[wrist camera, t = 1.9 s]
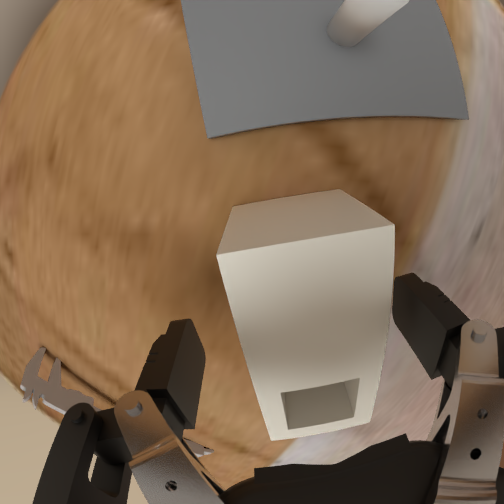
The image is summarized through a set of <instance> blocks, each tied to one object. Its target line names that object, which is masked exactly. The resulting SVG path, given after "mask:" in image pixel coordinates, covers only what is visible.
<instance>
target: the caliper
mask: <svg viewBox="0 0 504 504" xmlns="http://www.w3.org/2000/svg"><path fill="white" fill-rule="evenodd" d="M45 350H46V348H44V347H41V348H40V349H39V350H38V351H37V352H36V354H35V355H34V356H33V358H32V359H31V360H30V362H29V363H28V364H27V366H26V368H25V372H24V375H23V379H22V382H21V387H20V388H21V389H22V390H24V391H25V394H24V398H23V402H26V401H27V400H28V399H29V398H30V397H31V394H32V393H33V397H32V401H33V406H34V409H36V407H37V404H38V399H39V398H40V397H42V398H43V403H44V404H45V405H47V406H49V407H51V408H53V409H54V410H56V411H58V412H60V413H62V414H64V415H65V413H66V412H67V410H68V409H69V408H71V407H72V406H73V405H75V404H77V403H82V402H84V403H88V404H90V405H91V406H92V407H93V408H94V409H95V410H96V412H97V411H102V410H101V409H99V408H96V407H94V406H93V403H94V399H93V398H92V397H89V396H85V395H83V394H82V393H81V392H79V391H76V390H72V389H68V390H67V389H66V388H64V387H62V386H61V361H60V360H59V359H58V358H57V357H56V360H55V362H54V364H53V366H52V369H51V373H50V376H49V380H48V382H47V381H45V380H43V379H42V378H40V377H38V376H37V375H38V371H39V368H40V365H41V361H42V358H43V356H44V353H45ZM184 440H185V439H184ZM185 441H186V442H187V444H188V445H189V447H190V448H191V449H192V451H193V452H194V453H195V455H196V456H197V457H200V456H203V455H204V454H205V455H207V454H210V453H212V452H214V450H211V449H206V448H204V446H202V445H200V444H197V443H195V442H193V441H189V440H185Z"/></svg>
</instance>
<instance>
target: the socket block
mask: <svg viewBox="0 0 504 504" xmlns="http://www.w3.org/2000/svg"><path fill="white" fill-rule="evenodd" d="M394 250H395V225H394V224H393V223H392V222H390V221H389V220H387V219H386V218H384V217H383V216H381V215H380V214H378V213H377V212H375V211H374V210H372V209H371V208H369V207H368V206H366V205H365V204H363V203H361V202H360V201H358V200H357V199H355V198H354V197H352V196H350V195H349V194H347V193H346V192H344V191H342V190H341V189H336V190H329V191H322V192H315V193H308V194H302V195H296V196H289V197H283V198H277V199H272V200H266V201H260V202H254V203H249V204H244V205H238V206H233V207H232V210H231V213H230V216H229V219H228V222H227V224H226V227H225V230H224V233H223V236H222V239H221V242H220V245H219V248H218V251H217V254H216V256H217V260H218V264H219V268H220V271H221V275H222V279H223V283H224V286H225V290H226V294H227V297H228V301H229V305H230V308H231V312H232V315H233V319H234V322H235V326H236V329H237V333H238V336H239V340H240V343H241V346H242V350H243V353H244V357H245V360H246V363H247V366H248V370H249V373H250V376H251V380H252V383H253V386H254V389H255V392H256V396H257V399H258V402H259V405H260V408H261V411H262V414H263V417H264V420H265V423H266V426H267V429H268V432H269V435H270V438H271V441H274V440H283V439H290V438H298V437H304V436H310V435H316V434H322V433H327V432H332V431H336V430H341V429H345V428H350V427H354V426H358V425H361V424H365V423H369V422H370V419H371V416H372V412H373V408H374V404H375V400H376V395H377V391H378V386H379V382H380V377H381V372H382V367H383V361H384V355H385V349H386V343H387V336H388V329H389V321H390V312H391V302H392V290H393V275H394Z"/></svg>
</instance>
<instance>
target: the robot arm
mask: <svg viewBox="0 0 504 504" xmlns="http://www.w3.org/2000/svg"><path fill="white" fill-rule="evenodd" d="M392 314H393V319H394V322H395V324H396V325H397V327H398V328H399V330H400V331H401V333H402V334H403V336H404V337H405V339H406V340H407V342H408V343H409V345H410V346H411V348H412V349H413V351H414V353H415V354H416V356H417V357H418V359H419V360H420V362H421V364H422V365H423V367H424V368H425V370H426V372H427V373H428V375H429V377H430V378H431V380H432V379H434V378H436V377H439V376H441V375H442V376H443V378H444V381H443V383H442V387H441V393H440V397H439V402H438V406H437V411H436V415H435V419H434V422H433V425H432V428H431V431H430V433H429V435H428V438H427V440H426V441H421V440H419V441H409V440H408V438H407V435H406V433H405V434H403V435H400V436H398V437H395V438H392V439H389V440H387V441H384V442H381V443H378V444H375V445H372V446H370V447H368V448H366V449H364V450H363V451H361V452H359V453H357V454H355V455H353V456H351V457H349V458H347V459H345V460H343V461H341V462H339V463H337V464H333V465H308V464H288V465H281V466H273V467H263V468H254V477H252V478H249V479H246V480H244V481H241V482H239V483H237V484H235V485H233V486H231V487H230V488H228V489H227V490H225V489H224V488H223V487H222V486H221V484H220V483H219V482H218V481H217V480H216V479H215V478H214V477H213V476H212V475H211V474H210V472H209V471H208V470H207V469H206V468H205V466H204V465H203V464H202V462H201V461H200V460H199V459H198V457H197V456H196V455H195V453H194V452H193V451H192V449H191V448H190V447H189V445H188V444H187V442H186V441H185V440H184V438H183V437H182V436H183V430H184V429H195V423H196V416H197V410H198V404H199V398H200V391H201V385H202V379H203V373H204V368H205V352H204V348H203V346H202V343H201V341H200V339H199V336H198V334H197V331H196V329H195V326H194V324H193V322H192V320H191V319H182V320H175V321H171V322H170V324H169V327H168V329H167V332H166V334H164V335H161V336H160V337H159V338H158V339H157V340H156V341H155V342H154V343H153V345H152V348H151V350H150V352H149V355H148V357H147V360H146V363H145V365H144V367H143V370H142V372H141V375H140V378H139V380H138V383H137V385H136V388H135V391H131V392H128V393H126V394H125V395H123V396H122V397H121V398H120V399H119V400H118V401H117V403H116V404H115V407H114V408H111V409H106V410H102V411H97V412H96V410H95V409H94V408H93V407H92V406H91V405H90V404H88V403H84V402H82V403H77V404H75V405H73V406H72V407H71V408H69V409H68V410H67V412H66V413H65V415H64V418H63V420H62V422H61V425H60V427H59V430H58V432H57V434H56V437H55V439H54V442H53V444H52V447H51V449H50V452H49V455H48V457H47V460H46V463H45V466H44V469H43V472H42V475H41V478H40V481H39V484H38V487H37V490H36V493H35V497H34V501H33V504H127V498H128V491H129V486H130V480H131V475H132V473H133V475H134V477H135V479H136V481H137V483H138V485H139V487H140V489H141V491H142V492H143V494H144V496H145V498H146V500H147V501H148V503H149V504H504V468H501V467H499V464H500V459H501V453H502V446H503V438H504V327H503V328H497V329H494V328H493V326H492V325H490V324H489V323H487V322H485V321H482V320H470V319H469V318H468V317H467V316H466V315H465V314H464V313H463V312H462V311H461V310H460V309H459V308H458V307H457V306H456V305H455V304H454V303H453V302H452V301H450V299H449V298H448V297H447V296H446V295H444V293H443V292H442V291H441V290H440V289H439V288H438V287H436V286H434V285H432V284H430V283H428V282H423V281H422V280H421V279H420V278H419V277H418V276H417V275H416V274H414V273H409V274H406V275H402V276H398V277H396V278H395V280H394V292H393V306H392ZM93 454H95V455H96V456H97V459H96V463H95V466H94V470H93V474H92V478H91V482H90V481H89V478H88V471H89V468H90V464H91V461H92V457H93Z"/></svg>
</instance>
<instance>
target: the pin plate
mask: <svg viewBox="0 0 504 504" xmlns="http://www.w3.org/2000/svg"><path fill="white" fill-rule="evenodd" d="M181 4H182V10H183V15H184V21H185V26H186V32H187V37H188V43H189V48H190V53H191V59H192V64H193V69H194V74H195V79H196V84H197V89H198V94H199V99H200V104H201V109H202V114H203V119H204V124H205V129H206V133H207V138H211V139H212V138H216V137H221V136H226V135H230V134H235V133H240V132H245V131H251V130H256V129H262V128H268V127H275V126H281V125H288V124H296V123H304V122H312V121H322V120H333V119H347V118H365V117H430V118H447V119H469V116H468V110H467V103H466V98H465V92H464V87H463V83H462V78H461V74H460V70H459V66H458V62H457V58H456V55H455V51H454V48H453V45H452V41H451V38H450V35H449V32H448V30H447V27H446V24H445V21H444V19H443V16H442V14H441V11H440V9H439V6H438V4H437V2H436V0H181Z"/></svg>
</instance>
